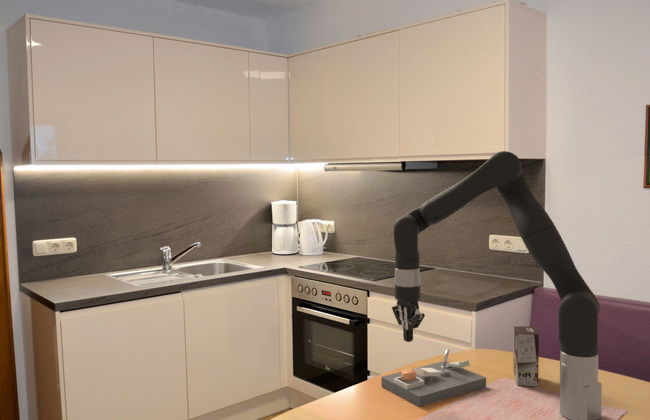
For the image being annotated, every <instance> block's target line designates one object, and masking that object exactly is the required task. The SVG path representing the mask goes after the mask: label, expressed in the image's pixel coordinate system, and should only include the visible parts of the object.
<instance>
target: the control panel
mask: <svg viewBox="0 0 650 420" xmlns="http://www.w3.org/2000/svg"><path fill="white" fill-rule="evenodd" d="M448 363H451V362H450V361H447V363H446V367H445V368H446V369H445V370H444V371H443V370H441V367H442V364H443V360H442V361H438V362H435V363H431V364H428V365H427V364H426V365H424V366H419V367H417V368H433V369H436V370H438V371H440V372H441V376H426V377H423V376H420V375H418V374H416V380H413V381H405V380H402V379H401V371H399V372H396V373H391V374H387V375H384V376H381V378H380V379H381V387H382V388H384V389H386V390H387V391H389V392H391V393H393V394H395V395H396V396H398V397H400V398H402V399H404V400H405V401H407V402H409V403H411V404H413V405H415V406H416V407H418V408H421V407H424V406H427V405H431V404H433V403H437V402H441V401H445V400H448V399H451V398H454V397H458V396H461V395H464V394H468V393H471V392H475V391H477V390H482V389H485V388H487V377H486V376H483V375H480V374H479V373H476V372H474V371H472V370H469V369H467V368H465V367H462V368H459V367H451V366H448ZM412 369H413V370H414V368H412ZM484 387H485V388H484Z"/></svg>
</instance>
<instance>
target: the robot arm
mask: <svg viewBox="0 0 650 420" xmlns="http://www.w3.org/2000/svg"><path fill="white" fill-rule="evenodd" d="M494 188H496V189H497V191H498V192H499V194H500V195H501V197H502V198H503V200H504V201H505V203H506V205H507V207H508V209H509V212H510V214H511V217H512V220H513V222H514V225H515V227H516V229H517V232H518V234H519V236H520V238H521V239H522V242H523V244H524V245H525V247H526V249H527V252H528V253H529V254H530V256H531V257H532V259H533V260H534V262H536V264H537V265H538V266H539V267H540V268H541V269H542V270H543V272H544V273H545V274H546V275H547V276H548V277H549V279H550V281H551V282H552V283H553V286H554V288H555V290H556V292H557V294H558V296H559V300H560V301H561V302H560V303H559V306H558V342H559V413H560V415H561V416H562V417H563V418H565V419H568V420H600V419H601V418H602V387H603V385H602V382H600V381H599V342H598V340H599V339H598V322H599V321H598V318H599V317H598V316H599V315H600V307H601V306H600V302H599V300H598V298H597V297H596V295H595V294H594V292H593V291H592V290H591V288H590V286H589V285H588V284H587V282H586V281H585V280H584V278H583V277H582V275H581V274H580V272H579V270H578V268H577V267H576V265H575V263H574V261H573V258H572V257H571V256H572V255H571V253H570V252H569V250H568V247H567V246H566V244H565V241H564V240H563V238H562V236H561V234H560V232H559V230H558V229H557V227H556V225H555V223H554V221H553V220H552V218H551V217H550V215H549V214H548V212H547V211H546V210H545V208H544V207H543V206H542V205H541V203H540V202H539V201H538V200H537V198H536V197H535V196H534V194H533V192H532V191H531V189H530V186H529V184H528V182H527V180H526V178H525V176H524V173H523V169H522V163H521V160H520V158H519V156H517V155H516V154H515V153H514V152H510V151H506V150H505V151H503V150H502V151H498V152H496V153H493V155H491V157H489V158H488V159H487V160H486V161H485V162H484V163H482V165H480V166H479V167H478V168H477V169H475V170H474V171H473V172H471V174H469V175H467V176H466V177H464V178H462V179H461V180H460V181H458V182H457V183H454V184H453V185H451V186H449V187H448V188H445V190H443V191H441V192H440V193H437V194H436V195H434V196H433V197H431V198H429V199H428V200H426V201H424V203H422V204H421V205H420V206H418V207H416V208H414V209H412V210H411V211H408V212H407V213H405V214H404V215H402V216H400V217H398V218H397V219H396V220H395V222H394V225H393V240H394V249H395V250H394V251H395V254H394V255H395V258H394V261H395V262H394V263H395V264H394V265H395V266H394V267H395V270H394V298H395V300H397V301H396V305H394V306H391V310H392V312H393V315H394V317H395V320H396V322H397V324H398V325H399V326H401V328H402V329H403V330H402V332H403V334H402V335H403V341H405V342H407V343H410V342H411V343H412V341H413V340H414V329H417V328H419V326H420V325H421V323H422V322H423V320H424V318H425V313H423V312H422V313H421V311H420V306H419V305H420V304H419V301H420V300H421V295H422V293H421V291H422V290H421V282H422V281H421V271H420V251H419V248H418V247H419V245H418V244H419V243H418V242H419V241H418V240H419V234H420V233H422V232H423V231H425V230H426V229H428V228H430V227H431V226H434V225H436V224H439V223H440V222H441V221H443V220H445V219H447V218H449V217H450V216H452V215H453V214H455V213H456V212H458V211H460V210H462V208H464V207H465V206H467V205H468V204H469V203H470V202H471V201H473V200H474V199H476V198H478V197H479V196H481V195H483V194H485V193H486V192H489V191H491V190H493V189H494Z"/></svg>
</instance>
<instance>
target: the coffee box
mask: <svg viewBox="0 0 650 420" xmlns="http://www.w3.org/2000/svg"><path fill="white" fill-rule="evenodd" d="M512 329H513V330H512V333H513V342H512V344H513V345H512V346H513V376H514V380H515V382H516V385H517V386H523V387H524V386H526V387H539V360H540V359H539V357H540V355H539V353H540V352H539V351H540V350H539V347H540V346H539V345H540V341H539V340H540V339H539V337H540V334H539V332H538V331H537V330H536V327H534V326H527V325H526V326H525V325H524V326H522V325H521V326H513V328H512Z"/></svg>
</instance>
